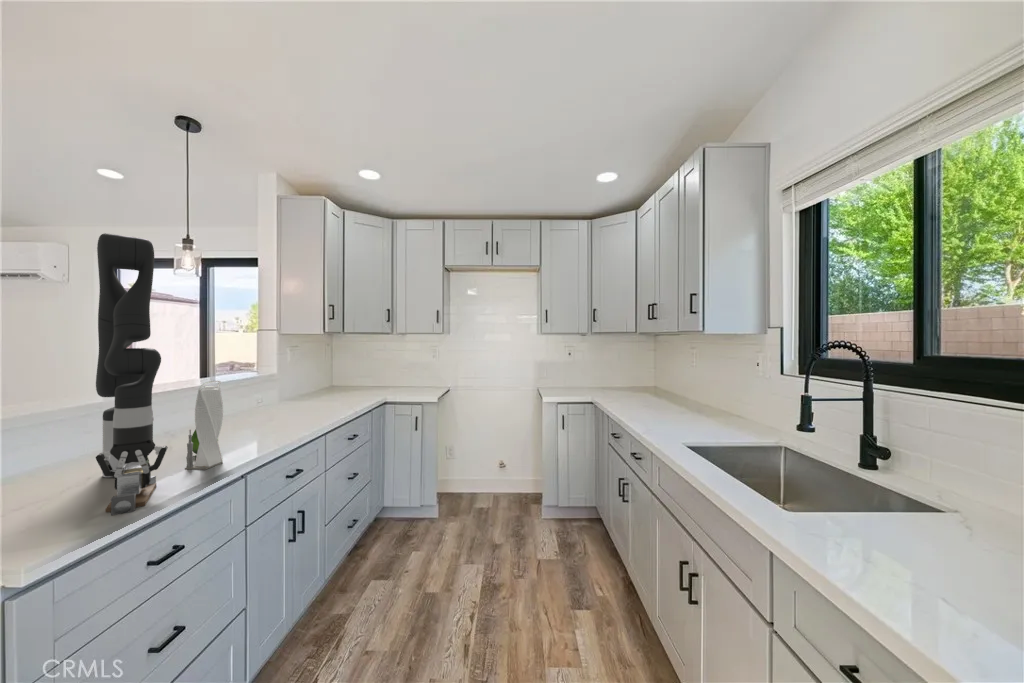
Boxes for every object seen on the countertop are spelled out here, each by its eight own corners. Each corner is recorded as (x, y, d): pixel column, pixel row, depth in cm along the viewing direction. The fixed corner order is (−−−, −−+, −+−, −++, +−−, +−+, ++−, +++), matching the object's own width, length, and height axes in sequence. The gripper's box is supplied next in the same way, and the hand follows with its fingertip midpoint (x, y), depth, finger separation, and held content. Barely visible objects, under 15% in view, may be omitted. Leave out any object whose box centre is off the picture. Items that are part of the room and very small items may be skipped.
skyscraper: (206, 461, 133) (207, 380, 133) (229, 461, 132) (229, 380, 132) (184, 469, 124) (185, 382, 124) (208, 469, 124) (209, 383, 124)
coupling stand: (124, 488, 108) (125, 474, 108) (158, 483, 112) (158, 469, 112) (101, 517, 91) (101, 500, 91) (142, 509, 95) (142, 493, 95)
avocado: (210, 457, 137) (210, 423, 137) (184, 458, 136) (185, 424, 136) (222, 450, 145) (222, 419, 145) (198, 451, 144) (199, 419, 144)
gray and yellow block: (117, 497, 96) (117, 477, 96) (127, 484, 104) (127, 466, 104) (139, 494, 99) (139, 474, 99) (147, 482, 107) (147, 464, 107)
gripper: (89, 429, 94) (89, 499, 94) (166, 423, 102) (166, 487, 103) (99, 424, 101) (98, 489, 101) (171, 418, 109) (171, 478, 109)
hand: (133, 488), depth 102 cm, fingers closed on gray and yellow block, 4 cm apart
